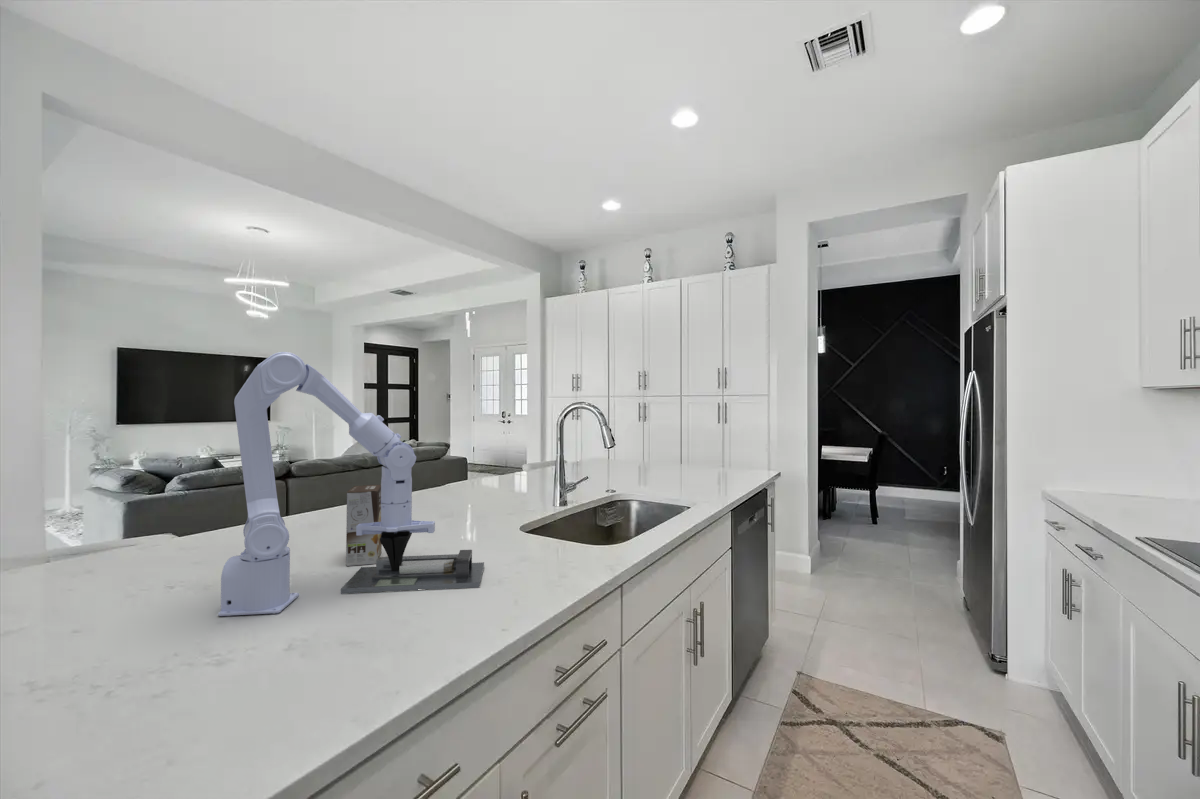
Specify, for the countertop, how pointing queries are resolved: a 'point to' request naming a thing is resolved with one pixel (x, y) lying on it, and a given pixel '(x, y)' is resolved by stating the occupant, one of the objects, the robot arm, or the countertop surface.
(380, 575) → the heatsink base
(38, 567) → the countertop surface
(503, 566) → the countertop surface
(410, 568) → the rectangular block
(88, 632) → the countertop surface
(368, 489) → the coffee box
